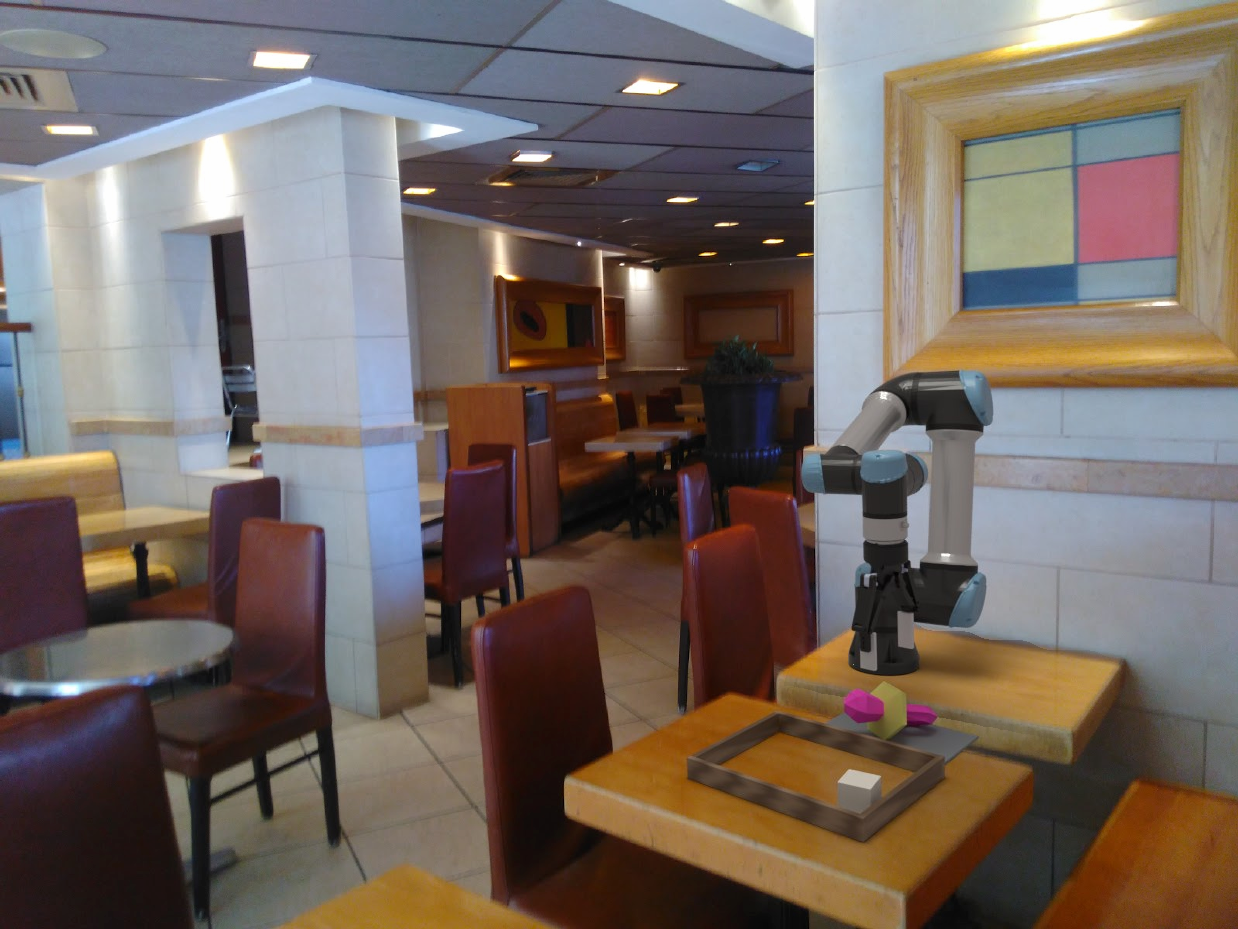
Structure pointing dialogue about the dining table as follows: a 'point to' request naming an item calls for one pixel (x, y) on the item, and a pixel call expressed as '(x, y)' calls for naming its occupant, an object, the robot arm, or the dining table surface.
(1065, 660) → the dining table surface
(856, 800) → the cream block
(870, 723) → the toy
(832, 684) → the dining table surface
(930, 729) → the mat
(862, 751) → the brown wooden frame
